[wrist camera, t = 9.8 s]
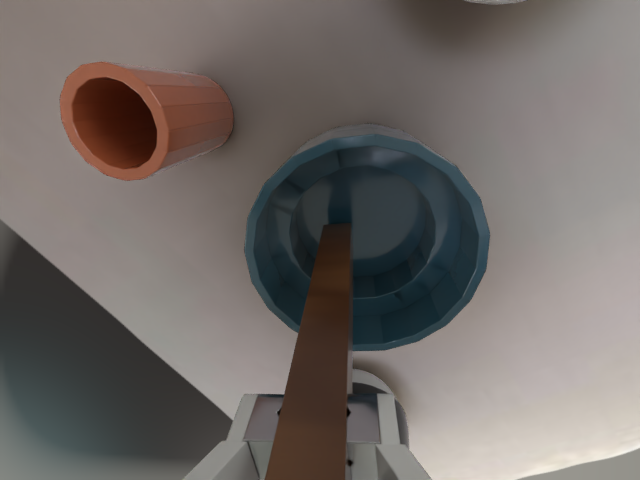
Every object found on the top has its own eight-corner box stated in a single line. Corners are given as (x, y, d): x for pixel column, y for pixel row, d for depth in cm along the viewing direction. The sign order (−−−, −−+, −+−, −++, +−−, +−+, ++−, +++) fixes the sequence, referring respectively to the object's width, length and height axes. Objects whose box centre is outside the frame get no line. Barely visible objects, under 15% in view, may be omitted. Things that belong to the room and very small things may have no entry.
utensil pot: (176, 154, 24) (88, 185, 16) (154, 79, 22) (39, 71, 14) (241, 146, 24) (182, 175, 16) (224, 68, 22) (146, 53, 13)
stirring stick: (326, 249, 24) (267, 586, 8) (323, 224, 23) (249, 542, 7) (353, 247, 23) (351, 593, 7) (350, 222, 23) (343, 548, 6)
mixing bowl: (287, 296, 29) (268, 353, 23) (255, 135, 23) (219, 151, 17) (448, 289, 27) (478, 348, 21) (458, 111, 21) (503, 119, 15)
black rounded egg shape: (400, 423, 35) (431, 640, 21) (306, 418, 36) (278, 621, 22) (406, 353, 30) (451, 566, 17) (300, 350, 32) (259, 547, 18)
